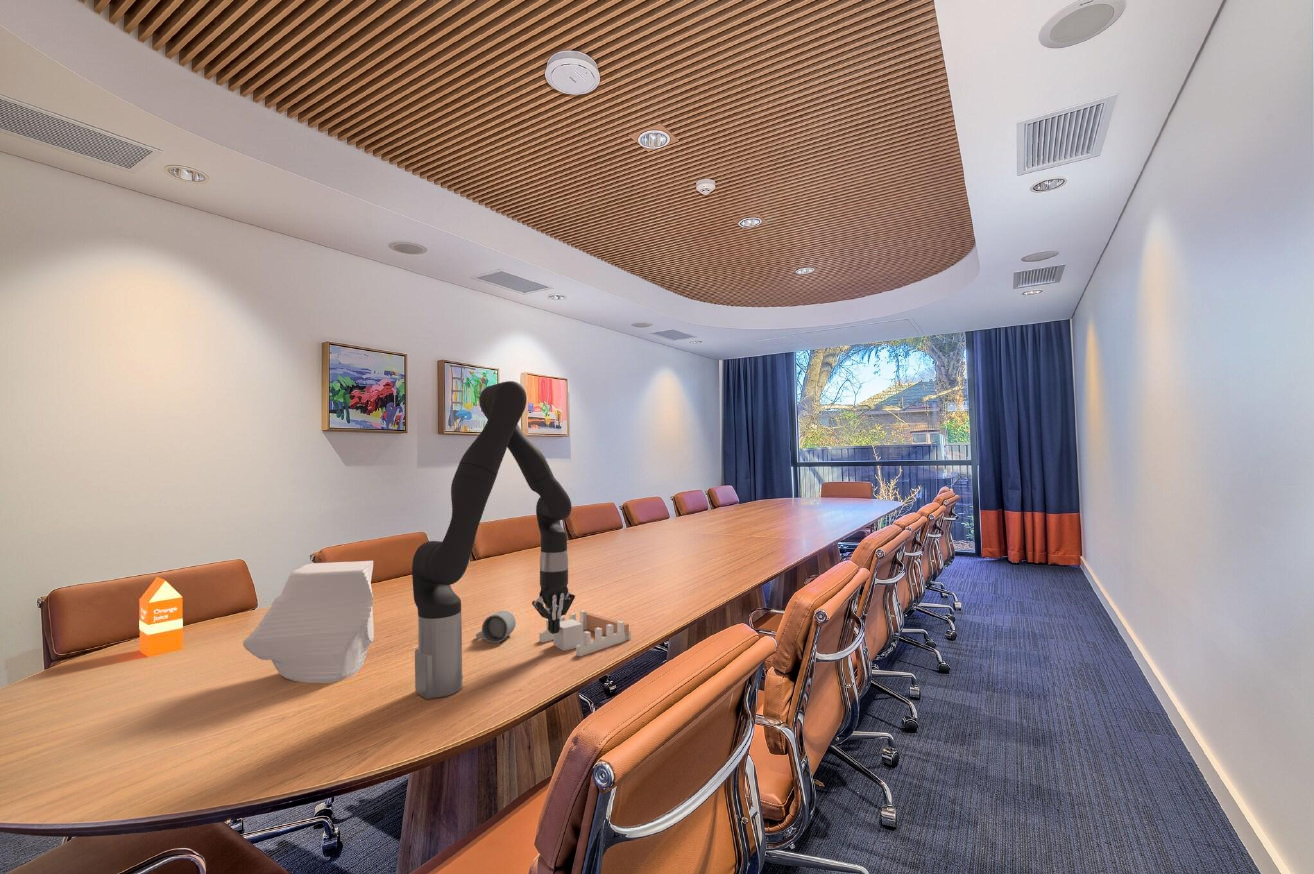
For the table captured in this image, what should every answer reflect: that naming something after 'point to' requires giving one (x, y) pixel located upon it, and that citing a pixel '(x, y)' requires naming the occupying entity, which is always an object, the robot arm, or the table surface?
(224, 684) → the table surface
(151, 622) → the orange juice
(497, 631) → the ceramic mug
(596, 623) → the notched wall frame
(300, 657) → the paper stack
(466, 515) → the robot arm
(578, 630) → the white cube
